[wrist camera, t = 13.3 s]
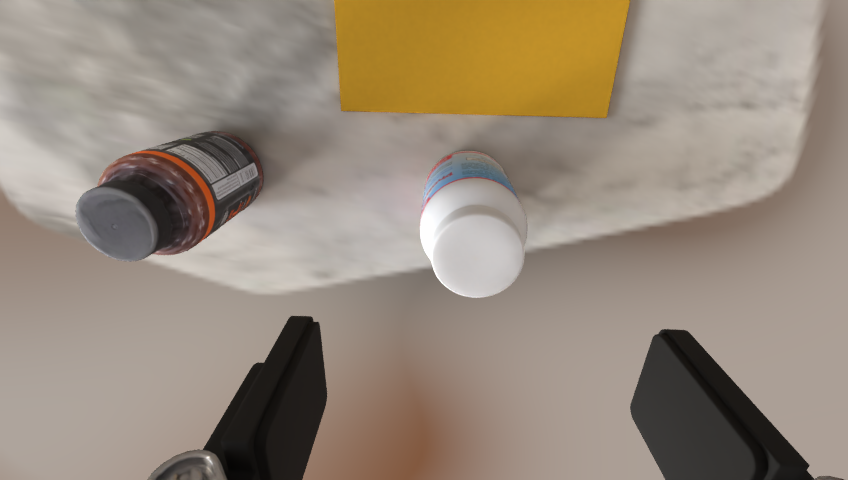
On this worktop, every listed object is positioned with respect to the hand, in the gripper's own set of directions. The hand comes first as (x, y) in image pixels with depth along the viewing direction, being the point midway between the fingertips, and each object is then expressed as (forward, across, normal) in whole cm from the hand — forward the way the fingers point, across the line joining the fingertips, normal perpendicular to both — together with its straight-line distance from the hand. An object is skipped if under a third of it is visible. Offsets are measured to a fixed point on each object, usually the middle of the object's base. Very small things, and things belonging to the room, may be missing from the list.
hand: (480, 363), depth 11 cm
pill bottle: (+20, -1, +1) cm, 20 cm away
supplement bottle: (+20, +17, 0) cm, 26 cm away
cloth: (+20, -1, -12) cm, 23 cm away
